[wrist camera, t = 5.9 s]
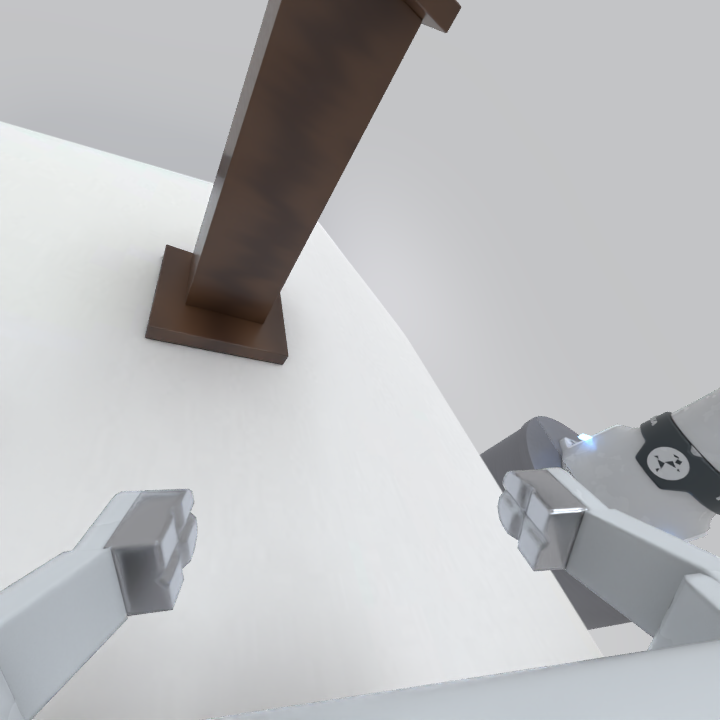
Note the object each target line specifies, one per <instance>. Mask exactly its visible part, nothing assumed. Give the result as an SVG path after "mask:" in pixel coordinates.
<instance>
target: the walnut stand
mask: <svg viewBox="0 0 720 720" xmlns="http://www.w3.org/2000/svg"><path fill="white" fill-rule="evenodd" d="M460 9H461V6H460V5H459V3H458V2H457V1H456V0H269V1H268V5H267V8H266V11H265V15H264V18H263V22H262V25H261V28H260V32H259V35H258V38H257V42H256V45H255V48H254V52H253V55H252V58H251V62H250V65H249V68H248V72H247V75H246V78H245V82H244V85H243V88H242V92H241V95H240V98H239V102H238V105H237V108H236V112H235V115H234V119H233V122H232V125H231V129H230V132H229V135H228V139H227V142H226V145H225V149H224V152H223V155H222V159H221V162H220V165H219V169H218V172H217V175H216V179H215V182H214V185H213V189H212V192H211V195H210V199H209V202H208V205H207V209H206V212H205V215H204V219H203V222H202V225H201V229H200V232H199V235H198V239H197V242H196V245H195V249H194V252H193V253H191V252H188V251H185V250H182V249H179V248H176V247H173V246H170V245H166V248H165V252H164V256H163V261H162V265H161V269H160V274H159V278H158V282H157V287H156V291H155V296H154V300H153V304H152V309H151V313H150V317H149V322H148V326H147V330H146V335H145V337H146V338H150V339H155V340H160V341H165V342H170V343H175V344H181V345H186V346H191V347H196V348H201V349H206V350H211V351H216V352H221V353H227V354H232V355H237V356H242V357H247V358H252V359H257V360H262V361H267V362H273V363H278V364H284V362H285V360H286V359H287V357H288V349H287V341H286V334H285V327H284V319H283V312H282V304H281V297H280V291H281V289H282V287H283V286H284V284H285V282H286V280H287V278H288V276H289V274H290V272H291V270H292V268H293V267H294V265H295V263H296V261H297V259H298V257H299V255H300V253H301V251H302V249H303V248H304V246H305V244H306V242H307V240H308V238H309V236H310V234H311V232H312V230H313V228H314V227H315V225H316V223H317V221H318V219H319V217H320V215H321V213H322V211H323V209H324V208H325V206H326V204H327V202H328V200H329V198H330V196H331V194H332V192H333V190H334V188H335V187H336V185H337V183H338V181H339V179H340V177H341V175H342V173H343V171H344V169H345V167H346V166H347V164H348V162H349V160H350V158H351V156H352V154H353V152H354V150H355V149H356V147H357V145H358V143H359V141H360V139H361V137H362V135H363V133H364V131H365V130H366V128H367V126H368V124H369V122H370V120H371V118H372V116H373V114H374V112H375V111H376V109H377V107H378V105H379V103H380V101H381V99H382V97H383V95H384V93H385V91H386V90H387V88H388V86H389V84H390V82H391V80H392V78H393V76H394V74H395V72H396V70H397V68H398V67H399V65H400V63H401V61H402V59H403V57H404V55H405V53H406V51H407V50H408V48H409V46H410V44H411V42H412V40H413V38H414V36H415V34H416V32H417V31H418V29H419V27H420V25H421V23H422V24H424V25H427V26H429V27H432V28H434V29H437V30H439V31H442V32H444V33H447V31H448V30H449V28H450V26H451V25H452V23H453V21H454V19H455V18H456V16H457V14H458V12H459V11H460Z"/></svg>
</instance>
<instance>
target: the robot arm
mask: <svg viewBox="0 0 720 720" xmlns="http://www.w3.org/2000/svg"><path fill="white" fill-rule="evenodd" d="M578 437H579V439H582V441H580V442H576V441H574V440H571V439H569V438H566V437H565V438H562V439H560V440H559V444H560V447H561V450H562V467H563V469H561V468H559V467H556V468H544V469H536V470H520V471H508V472H507V473H506V474H505V476H504V479H503V483H502V484H503V485H504V487H505V489H506V490H505V491H504V493H503V494H502V495H501V496H500V497H499V502H498V513H499V518H500V521H501V523H502V526H503V527H504V529H505V530H506V532H507V533H508V534H509V535H511V536H512V537H514V538H515V539H517V540H518V549H519V551H520V552H521V554H522V555H523V557H524V558H525V559H526V561H527V562H528V564H529V565H530V567H531V568H532V570H533V571H544V570H558V569H566V570H565V571H566V572H567V573H569V574H570V575H571V576H573V577H574V578H575V579H577V580H578V581H579V582H581V583H582V584H583V585H585V586H586V587H587V588H588V589H590V590H591V591H592V592H594V593H595V594H596V595H598V596H599V597H600V598H602V599H603V600H604V601H606V602H607V603H608V604H610V605H611V606H612V607H613V608H615V609H616V610H617V611H619V612H620V613H621V614H623V615H624V616H625V617H627V618H628V619H629V620H631V621H632V622H633V623H635V624H636V625H637V626H638V627H640V628H641V629H642V630H644V631H645V632H646V633H648V634H649V635H650V636H652V637H653V640H652V642H651V644H650V646H649V648H648V650H647V651H641V652H635V653H629V654H622V655H617V656H609V657H603V658H597V659H590V660H584V661H577V662H571V663H565V664H558V665H552V666H545V667H539V668H532V669H526V670H520V671H513V672H507V673H500V674H494V675H487V676H481V677H474V678H468V679H461V680H455V681H448V682H442V683H436V684H429V685H423V686H416V687H410V688H403V689H397V690H390V691H384V692H377V693H371V694H364V695H358V696H352V697H345V698H339V699H332V700H326V701H319V702H313V703H306V704H300V705H294V706H287V707H281V708H274V709H268V710H261V711H255V712H249V713H242V714H236V715H229V716H223V717H216V718H210V719H203V720H720V557H718V556H716V555H714V554H712V553H710V552H708V551H705V550H703V549H701V548H699V547H696V546H694V545H692V544H690V543H688V542H690V541H693V540H696V539H699V538H703V537H705V536H707V535H708V534H707V531H708V530H709V528H710V521H711V520H712V518H713V517H714V515H715V514H719V515H720V388H719V389H717V390H715V391H713V392H711V393H710V394H708V395H706V396H704V397H702V398H700V399H698V400H697V401H695V402H693V403H691V404H689V405H687V406H685V407H683V408H681V409H679V410H677V411H676V412H673V413H671V412H665V413H663V414H661V415H659V416H655V417H653V418H651V419H650V420H649V421H647V422H645V423H643V424H641V426H640V428H631V427H626V426H621V425H614V426H611V427H609V428H607V429H605V430H603V431H601V432H599V433H596V434H595V435H592V436H588V435H585V434H582V435H580V436H578ZM193 504H194V498H193V493H192V491H191V490H190V489H171V490H145V491H124V492H120V493H118V494H116V495H115V496H114V497H113V498H112V500H111V501H110V502H109V503H108V505H107V506H106V507H105V509H104V510H103V511H102V512H101V514H100V515H99V516H98V518H97V519H96V520H95V522H94V523H93V524H92V525H91V527H90V528H89V529H88V531H87V532H86V533H85V535H84V536H83V537H82V538H81V540H80V541H79V542H78V544H77V545H76V546H75V548H74V549H73V550H72V551H69V552H63V553H61V554H59V555H58V556H56V557H55V558H53V559H51V560H50V561H48V562H47V563H45V564H43V565H42V566H40V567H39V568H37V569H35V570H34V571H32V572H31V573H29V574H27V575H26V576H24V577H23V578H21V579H19V580H18V581H16V582H15V583H13V584H12V585H10V586H8V587H7V588H5V589H4V590H2V591H0V720H31V719H32V718H33V717H34V716H35V715H36V714H37V713H38V712H39V711H40V710H41V709H42V708H43V707H44V706H45V705H46V704H47V703H48V702H49V701H50V699H51V698H52V697H53V696H54V695H55V694H56V693H57V692H58V691H59V690H60V689H61V688H62V687H63V686H64V685H65V684H66V683H67V682H68V681H69V680H70V679H71V677H72V676H73V675H74V674H75V673H76V672H77V671H78V670H79V669H80V668H81V667H82V666H83V665H84V664H85V663H86V662H87V661H88V660H89V659H90V658H91V657H92V655H93V654H94V653H95V652H96V651H97V650H98V649H99V648H100V647H101V646H102V645H103V644H104V643H105V642H106V641H107V640H108V639H109V638H110V637H111V636H112V635H113V634H114V632H115V631H116V630H117V629H118V628H119V627H120V626H121V625H122V624H123V623H124V622H125V621H126V620H127V619H128V617H127V616H131V615H138V614H146V613H153V612H160V611H168V610H173V607H174V605H175V602H176V599H177V597H178V594H179V591H180V589H181V586H182V583H183V581H184V577H183V570H182V569H183V568H184V567H185V566H186V565H187V564H188V563H189V562H190V561H191V559H192V556H193V553H194V550H195V545H196V540H197V519H196V517H195V516H194V515H193V514H192V513H191V512H190V511H191V509H192V507H193Z"/></svg>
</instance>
